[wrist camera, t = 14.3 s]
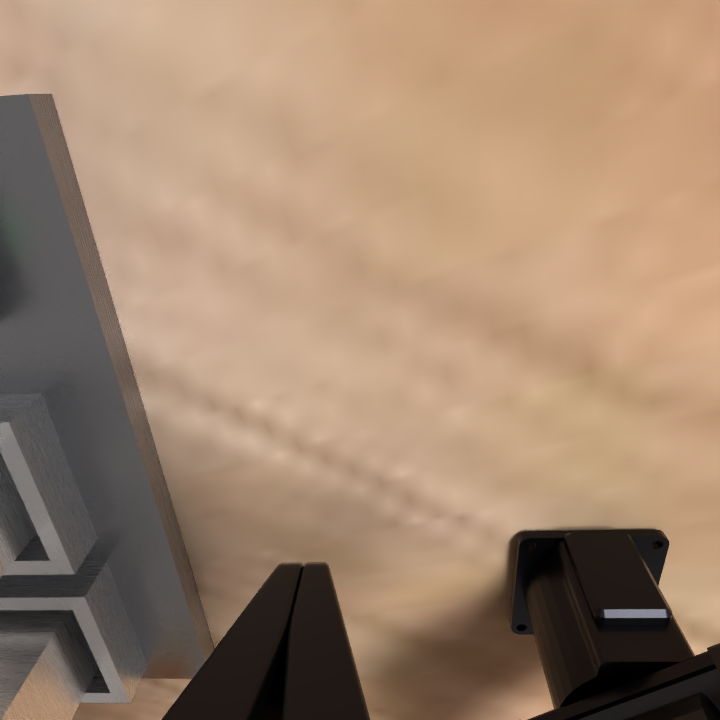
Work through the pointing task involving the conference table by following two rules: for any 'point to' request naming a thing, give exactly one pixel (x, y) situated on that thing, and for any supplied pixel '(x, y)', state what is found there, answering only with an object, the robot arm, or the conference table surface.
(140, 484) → the dark grey fixture board
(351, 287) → the conference table surface
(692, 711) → the robot arm
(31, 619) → the block
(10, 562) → the aluminium block
